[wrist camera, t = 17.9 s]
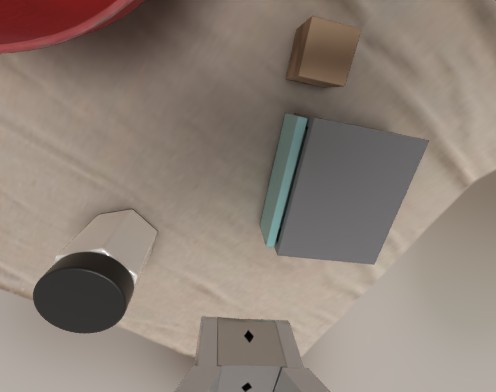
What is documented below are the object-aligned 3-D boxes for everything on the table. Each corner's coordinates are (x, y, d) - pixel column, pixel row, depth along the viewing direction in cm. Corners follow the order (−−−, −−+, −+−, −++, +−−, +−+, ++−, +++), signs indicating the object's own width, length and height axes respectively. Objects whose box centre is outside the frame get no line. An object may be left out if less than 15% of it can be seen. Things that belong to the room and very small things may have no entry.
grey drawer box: (294, 113, 30) (314, 117, 24) (387, 131, 33) (429, 140, 26) (267, 226, 36) (277, 255, 30) (348, 236, 38) (374, 264, 32)
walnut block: (296, 29, 27) (312, 15, 22) (338, 40, 28) (361, 29, 23) (285, 79, 29) (298, 75, 24) (325, 87, 30) (344, 86, 25)
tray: (285, 113, 30) (298, 116, 25) (377, 131, 32) (406, 137, 27) (259, 225, 36) (266, 246, 31) (339, 234, 38) (358, 255, 33)
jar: (77, 232, 33) (6, 300, 22) (120, 196, 32) (68, 248, 21) (129, 271, 36) (89, 348, 25) (170, 240, 35) (147, 306, 24)
